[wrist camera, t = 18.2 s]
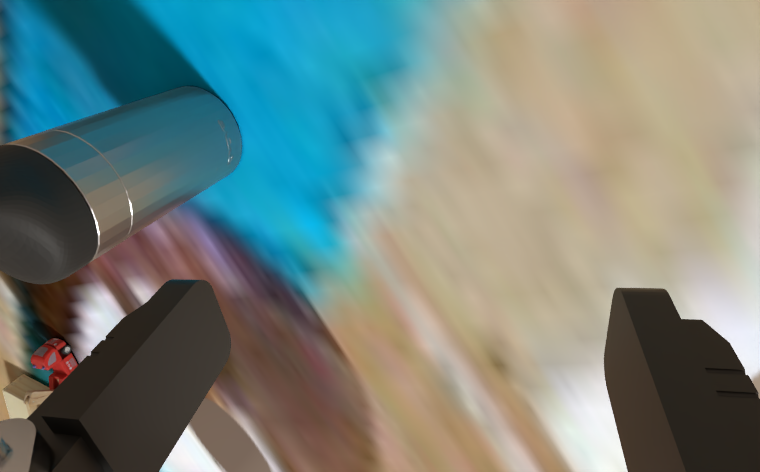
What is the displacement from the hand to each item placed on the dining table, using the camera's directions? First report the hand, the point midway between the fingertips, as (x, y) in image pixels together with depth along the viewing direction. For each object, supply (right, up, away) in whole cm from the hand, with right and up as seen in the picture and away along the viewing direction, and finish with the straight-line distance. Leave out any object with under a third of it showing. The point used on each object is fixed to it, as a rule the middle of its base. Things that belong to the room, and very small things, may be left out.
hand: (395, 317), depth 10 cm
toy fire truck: (-48, -20, +67) cm, 85 cm away
